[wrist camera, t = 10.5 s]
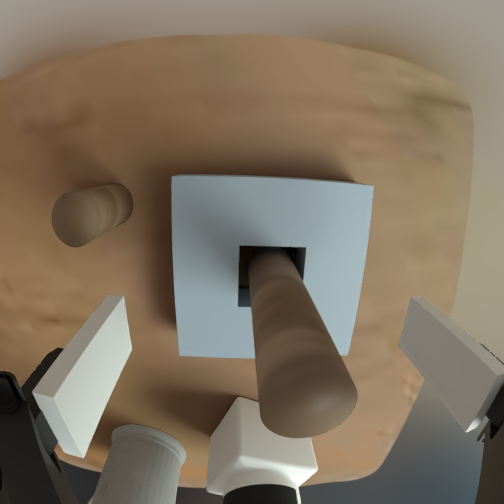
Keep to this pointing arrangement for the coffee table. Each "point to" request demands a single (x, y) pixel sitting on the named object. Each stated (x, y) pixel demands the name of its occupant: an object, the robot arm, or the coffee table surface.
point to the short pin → (90, 213)
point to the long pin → (294, 352)
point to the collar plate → (263, 234)
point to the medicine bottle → (256, 460)
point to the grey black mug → (140, 467)
